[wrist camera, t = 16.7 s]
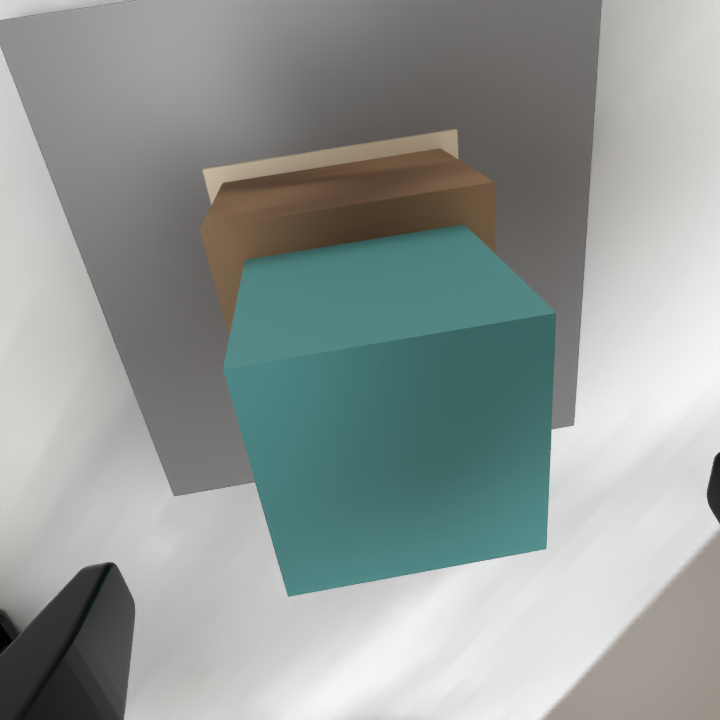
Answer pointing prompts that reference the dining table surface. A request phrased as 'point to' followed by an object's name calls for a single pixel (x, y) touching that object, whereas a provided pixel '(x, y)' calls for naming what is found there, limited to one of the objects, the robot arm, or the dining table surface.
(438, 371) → the teal block
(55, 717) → the robot arm
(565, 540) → the dining table surface
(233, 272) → the walnut block
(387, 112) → the base plate
